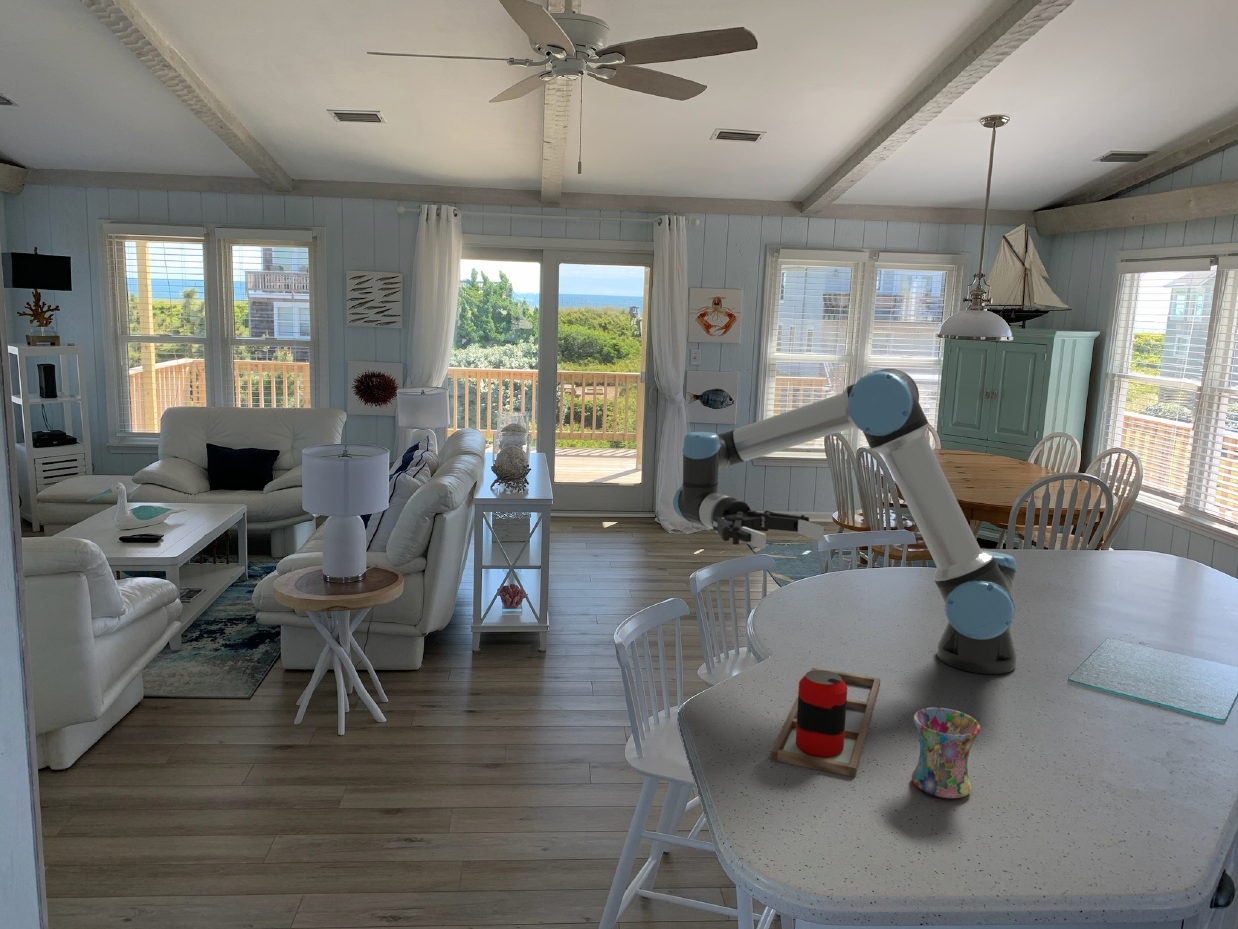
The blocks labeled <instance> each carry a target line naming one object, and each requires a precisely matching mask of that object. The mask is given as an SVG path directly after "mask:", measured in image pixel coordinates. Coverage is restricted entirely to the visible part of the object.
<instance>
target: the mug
mask: <svg viewBox="0 0 1238 929" xmlns="http://www.w3.org/2000/svg"><path fill="white" fill-rule="evenodd" d="M913 722H914V724H915V727H916V729H917V733H918V737H919V738H918V739H919V756H918V757H919V758H918V762H917V765H916V766H915V769H914V770H913V771H912V773H911V780H912V782H913V784H914V785H915V786H916V787H917V788H919V790H921V791H923V792H925V793H927V794H930V795H931V796H935V797H938V798H942V799H958V798H964V797H966V796H968V795H969V794H970V793H971V792H972V789H973V787H972V786H973V785H972V783H971V780H970V778H969V770H968V769H969V768H968V760H969V755H970V751H971V750H972V749H971V748H972V746H973V744H974V742H975V739H976V738H977V736H978V735H979V733H980V732H981V725H980V723H979V722H978V720H976V719H975V718H974V717H972V716H970V715H969V714H967V713H964V712H961V711H958V710H955V709H950V708H945V707H927V708H926V707H925V708H921V709H919V710H916V712H915V713H914V715H913Z"/></svg>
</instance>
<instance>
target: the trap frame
mask: <svg viewBox="0 0 1238 929" xmlns="http://www.w3.org/2000/svg"><path fill="white" fill-rule="evenodd" d="M813 670H825V671H830V672H834V673H836V674H838V675H839V676H841V678H842V680H843V681H845V682H844V683H846V682H848V683H847V684H852V683H853V685H858V684H859V686H864V687H870V686H871V687H870V688H871V691H870V694H869V696H868V697H869V698H868V701H867V702H866V701H861V700H858V699H857V700H856V699H850V698H847V703H846V718H845V734H844V748H843V751H842V752H841V753H840V754H838V755H837V756H834V757H828V758H822V757H815V756H811V755H808V754H806V753H804V752H802V751H801V750H800V749H799V748H798V746H797V745H796V728H797V710H798V696H797V697H796V698H795V701H794V703H793V706H792V708H791V710H790V712H789V713H788V715H787V718H786V720H785V723H783V726H782V729H781V730H780V732H779V735H778V736H777V739H776V741H775V743H774V745H773V747H772V749H771V752H770V760H771V761H774V762H780V763H785V764H789V765H794V766H798V767H799V766H800V767H804V768H809V769H813V770H818V771H822V772H823V771H824V772H828V773H833V774H837V775H842V776H848V777H850V778H851V777H853V778H856V776H857V772H858V769H859V766H860V762H861V757H862V755H863V751H862V750H864V746H865V744H866V740H865V739H867V736H868V731H869V727H870V724H871V720H872V717H873V714H874V708H875V706H876V702H877V698H878V695H879V691H880V688H881V678H878V677H872V676H866V675H860V674H856V673H855V674H854V673H849V672H841V671H835V670H830V669H825V668H818V667H811V668H810V671H813ZM879 687H880V688H879Z"/></svg>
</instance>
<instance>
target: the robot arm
mask: <svg viewBox="0 0 1238 929" xmlns="http://www.w3.org/2000/svg"><path fill="white" fill-rule="evenodd" d="M919 402H920V391H919V388H918V385H917V383H916V382H915V380H914V379H913V378H912V377H911V376H910V375H909V374H907V373H906V372H905V371H902V370H900V369H896V368H884V369H879V370H873V371H872V372H868V373H867V374H865V375H864V376H862V377H860V378H859V379H858V380H857V381H856V383H853V384H851V385H847V386H846V387H845V389H844V390H843V392H842V393H838V394H836V395H833V396H830V397H827V398H824V399H821V400H818V401H816V402H812V403H808V404H807V405H804V406H800V407H798V408H795V409H791V410H789V411H786V412H781V413H779V414H777V415H774V416H770V417H767V418H765V419H762V420H758V421H756V422H753V423H750V424H747V425H744V426H743V425H742V426H741V427H738V428H736V429H731V430H730V431H726V432H723V433H719V434H717V433H716V432H710V431H708V432H707V431H694V432H693V431H692V432H687V433H686V434H685V435H684V436H683V447H682V455H683V456H682V484H681V487H679V488H678V489H677V490H676V492H675V494H674V496H673V499H672V505H673V506H672V507H673V510H674V512H675V513H676V515H678V517H680V518H683V519H684V520H686V521H687V522H691V523H693V524H697V525H699V526H703V527H705V528H707V529H710V530H713V531H715V533H717V534H718V535H719V536H720V538H721V539H722V540H723V541H725V542H729V541H730V539H732V545H740V542H742V543H745V544H747V545H750V546H753V547H755V548H758V549H761V550H765V549H766V548H767V533H764V532H768V531H769V530H776V531H783V532H784V531H785V532H786V531H787V532H796V533H797V534H798V535H801V536H803V537H804V536H805V537H807V538H810V539H813V540H816V541H820V542H824V537H825V536H824V535H825V534H824V533H825V526H823V525H820V524H818V523H814V522H811V521H810V517H809V516H805V515H804V514H800V515H801V516H800V515H795V514H794V515H793V514H787V513H779V512H775V511H770V510H764V512H760V511H759V512H758V511H756V510H752V509H751V508H750V506H749V504H748V503H747V502H745V501H744V500H741V499H738V498H735V497H732V496H729V495H726V494H722V493H719V492H718V490H719V489H718V488H719V487H718V486H719V471H722V470H723V469H726V468H729V467H732V466H735V465H739V464H741V463H744V462H747V461H751V460H753V459H757V458H759V457H763V456H767V455H770V454H773V453H776V452H780V451H782V450H783V451H784V450H787V449H790V448H791V447H795V446H798V445H801V444H804V443H809V442H811V441H814V440H817V439H821V438H824V437H828V436H830V435H833V434H836V433H841V432H843V431H846V430H849V429H852V428H855V429H858V430H860V431H861V432H862V433H863V435H864V438H865V439H866V441H867V443H868V445H869V448H870V449H871V450H872V451H873V452H877V453H879V454H881V455H882V456H883V458H884V460H885V462H886V464H887V466H888V468H889V471H890V473H891V474H892V477H893V478H894V481H895V483H896V485H897V487H898V489H899V491H900V492H901V495H902V497H903V499H904V502H905V504H906V505H907V508H908V510H909V512H910V514H911V516H912V518H913V520H914V522H915V524H916V526H917V529H918V530H919V532H920V535H921V537H922V539H923V541H924V543H925V545H926V548H927V549H928V551H929V553H930V555H931V557H932V559H933V562H934V564H935V566H936V570H935V572H934V575H933V577H932V578H933V580H934V582H935V583H934V584H935V585H936V587H937V588H938V591H939V592H940V595H941V597H942V599H943V602H944V607H945V608H944V611H945V615H946V618H947V620H948V622H947V624H946V626H945V628H944V630H943V632H942V634H941V636H940V639H939V641H938V644H937V651H936V655H937V658H938V659H939V660H940V661H941V662H943V663H944V664H946V665H948V666H950V667H953V668H955V669H959V670H962V671H966V672H971V673H975V674H984V675H1000V674H1001V675H1002V674H1007V673H1010V672H1012V671H1014V670H1015V669H1016V665H1017V652H1016V648H1015V645H1014V644H1015V643H1014V639H1013V636H1012V632H1011V623H1012V621H1013V619H1014V617H1015V612H1016V607H1015V606H1016V605H1015V583H1016V582H1015V581H1016V574H1017V571H1018V568H1017V560H1016V559H1015V557H1014V556H1012V555H1010V554H1006V553H1002V552H997V551H989V550H983V549H981V547H980V545H979V543H978V541H977V539H976V536H975V535H974V532H973V531H972V529H971V527H970V525H969V523H968V520H967V519H966V516H965V514H964V512H963V510H962V507H961V506H960V504H959V502H958V500H957V497H956V496H955V494H954V491H953V490H952V488H951V485H950V484H949V481H948V479H947V477H946V475H945V474H944V473H945V472H944V471H943V469H942V467H941V465H940V463H939V460H938V459H937V457H936V455H935V453H934V450H933V448H932V446H931V444H930V442H929V440H928V438H927V432H928V429H929V426H930V423H929V421H928V418H927V417H926V415H925V412H924V411H923V408H922V407H921V406H922V405H920V403H919ZM763 524H764V526H762V525H763Z"/></svg>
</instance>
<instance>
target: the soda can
mask: <svg viewBox="0 0 1238 929" xmlns="http://www.w3.org/2000/svg"><path fill="white" fill-rule="evenodd" d="M825 670H826V669H825ZM825 670H813V671H808V672H806V673H805V675H804V676H803V677H802V678H800V680H799V682H798V692H797V693H798V696H797V697H798V710H797V728H796V745H797V746H798V748H799V749H800V750H801V751H802V752H804V753H806V754H808V755H811V756H815V757H822V758H828V757H834V756H837V755H838V754H840V753H841V752H842V751H843V748H844V734H845V718H846V703H847V699H848V686H847V684H846V682H844V681H843V680H842V678H841V676H839V675H838V674H836V673H834V672H830V671H825Z"/></svg>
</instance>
